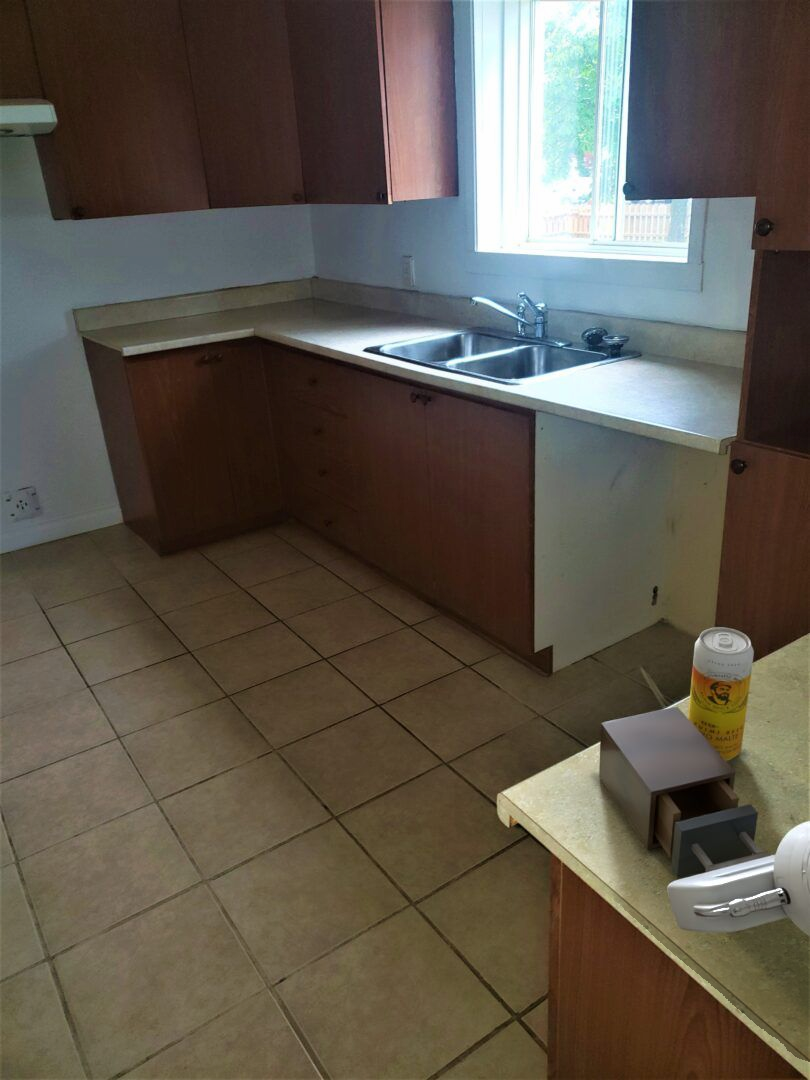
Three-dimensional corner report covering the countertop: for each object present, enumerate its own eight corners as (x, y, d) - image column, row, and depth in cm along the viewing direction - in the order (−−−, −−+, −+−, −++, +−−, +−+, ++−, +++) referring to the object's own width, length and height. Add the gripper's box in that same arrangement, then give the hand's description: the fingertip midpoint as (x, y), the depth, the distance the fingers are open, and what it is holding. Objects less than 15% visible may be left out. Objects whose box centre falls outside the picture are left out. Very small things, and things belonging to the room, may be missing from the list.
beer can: (687, 762, 94) (697, 653, 87) (684, 729, 99) (693, 623, 93) (743, 768, 92) (758, 657, 86) (737, 733, 98) (750, 627, 91)
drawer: (779, 894, 76) (787, 845, 73) (701, 915, 75) (707, 866, 72) (694, 788, 89) (699, 744, 86) (627, 804, 88) (629, 760, 85)
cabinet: (728, 829, 84) (735, 771, 81) (647, 850, 83) (651, 792, 80) (672, 760, 94) (677, 706, 91) (598, 777, 93) (600, 722, 89)
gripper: (729, 964, 58) (653, 942, 70) (975, 894, 61) (859, 886, 74) (700, 870, 60) (631, 865, 72) (939, 808, 63) (833, 814, 76)
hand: (748, 875), depth 73 cm, fingers closed
